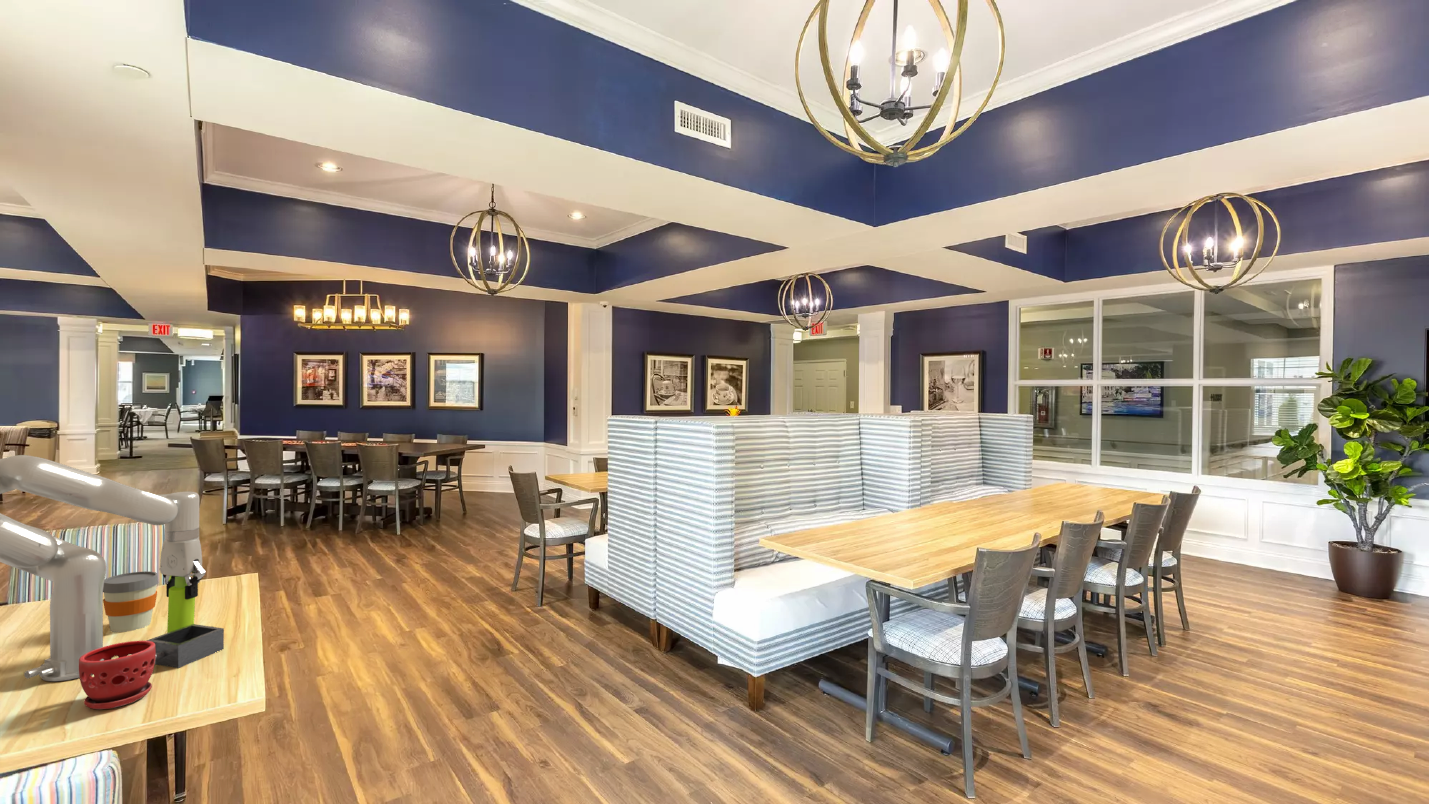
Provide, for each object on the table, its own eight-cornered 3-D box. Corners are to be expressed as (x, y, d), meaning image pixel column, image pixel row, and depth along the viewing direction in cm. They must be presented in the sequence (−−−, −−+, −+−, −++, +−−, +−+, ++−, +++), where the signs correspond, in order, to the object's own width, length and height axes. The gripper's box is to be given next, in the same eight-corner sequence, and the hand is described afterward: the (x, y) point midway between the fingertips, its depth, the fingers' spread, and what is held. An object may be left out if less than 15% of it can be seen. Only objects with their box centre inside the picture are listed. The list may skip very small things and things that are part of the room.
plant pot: (169, 686, 154) (170, 638, 154) (120, 714, 141) (121, 662, 141) (115, 686, 154) (115, 637, 153) (61, 714, 140) (61, 661, 140)
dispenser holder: (159, 676, 159) (159, 652, 159) (126, 670, 162) (126, 647, 161) (223, 649, 175) (223, 628, 175) (192, 644, 178) (192, 624, 178)
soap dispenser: (185, 636, 178) (187, 567, 177) (161, 635, 178) (164, 566, 177) (202, 628, 184) (205, 561, 183) (179, 626, 184) (182, 560, 183)
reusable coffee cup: (169, 619, 195) (169, 572, 195) (127, 635, 182) (128, 585, 182) (133, 617, 196) (133, 570, 196) (89, 633, 184) (89, 582, 183)
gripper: (144, 535, 178) (144, 598, 179) (192, 540, 175) (192, 604, 175) (173, 529, 186) (172, 589, 186) (219, 534, 182) (218, 595, 182)
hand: (182, 596), depth 181 cm, fingers closed on soap dispenser, 6 cm apart
